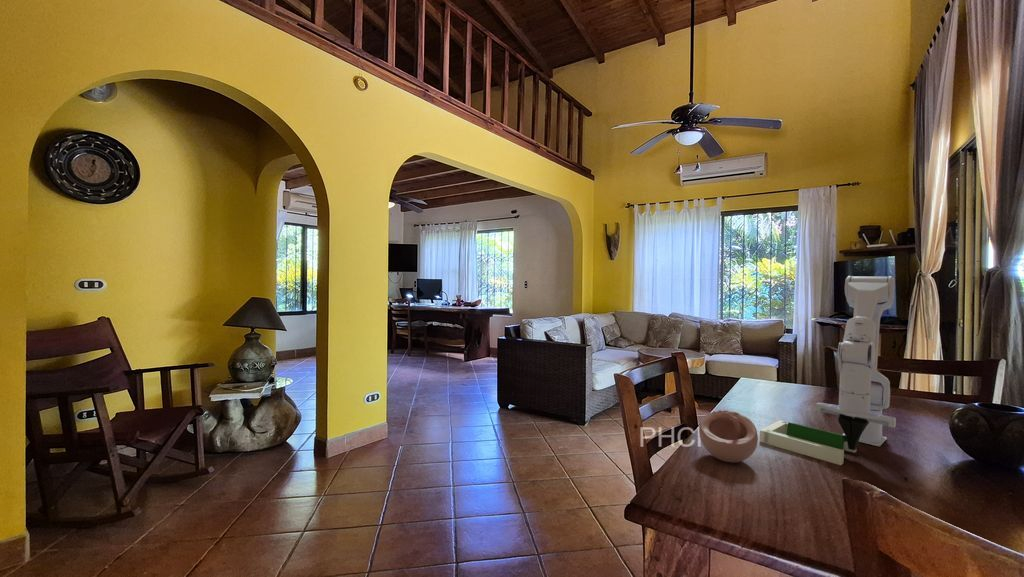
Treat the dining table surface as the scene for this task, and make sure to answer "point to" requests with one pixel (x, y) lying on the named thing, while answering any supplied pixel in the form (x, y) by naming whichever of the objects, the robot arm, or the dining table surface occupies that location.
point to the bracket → (801, 444)
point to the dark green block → (816, 435)
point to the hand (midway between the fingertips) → (852, 448)
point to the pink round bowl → (728, 435)
